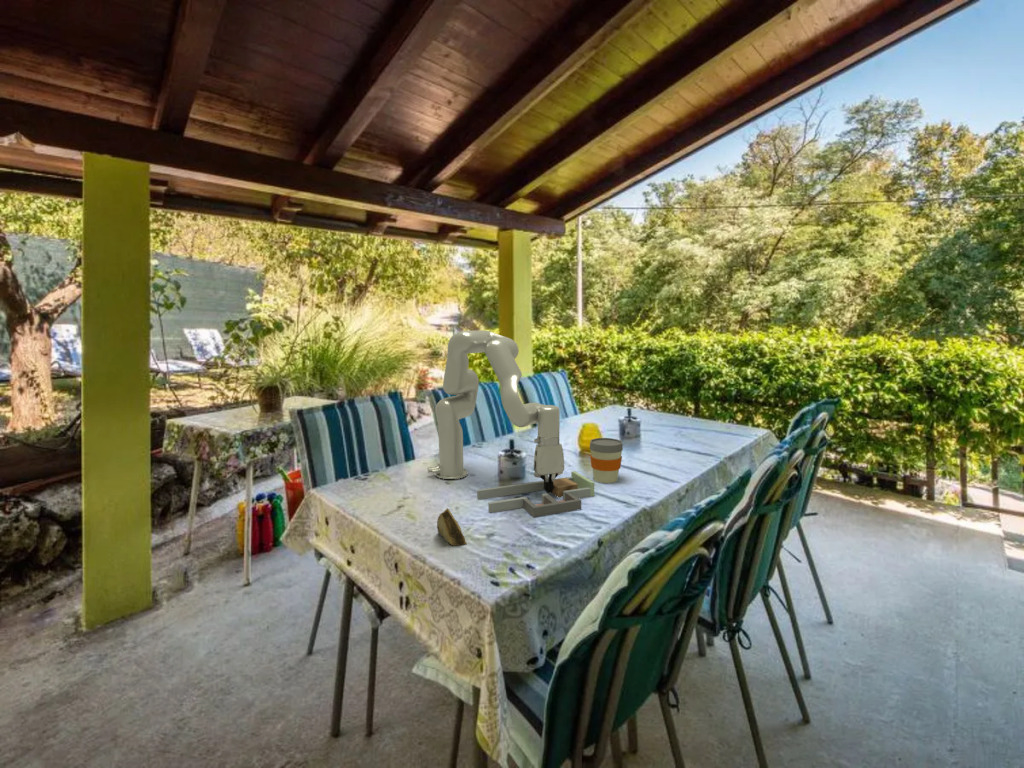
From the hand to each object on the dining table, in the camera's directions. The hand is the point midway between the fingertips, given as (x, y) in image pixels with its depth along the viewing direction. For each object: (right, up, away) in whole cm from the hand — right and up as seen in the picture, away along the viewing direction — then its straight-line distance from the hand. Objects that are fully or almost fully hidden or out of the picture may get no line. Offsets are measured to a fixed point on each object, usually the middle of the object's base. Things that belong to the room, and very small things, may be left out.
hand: (548, 491), depth 167 cm
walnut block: (+5, -1, +3) cm, 6 cm away
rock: (-30, -6, -33) cm, 45 cm away
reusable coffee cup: (+23, +1, +17) cm, 29 cm away
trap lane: (-3, -2, -5) cm, 7 cm away
